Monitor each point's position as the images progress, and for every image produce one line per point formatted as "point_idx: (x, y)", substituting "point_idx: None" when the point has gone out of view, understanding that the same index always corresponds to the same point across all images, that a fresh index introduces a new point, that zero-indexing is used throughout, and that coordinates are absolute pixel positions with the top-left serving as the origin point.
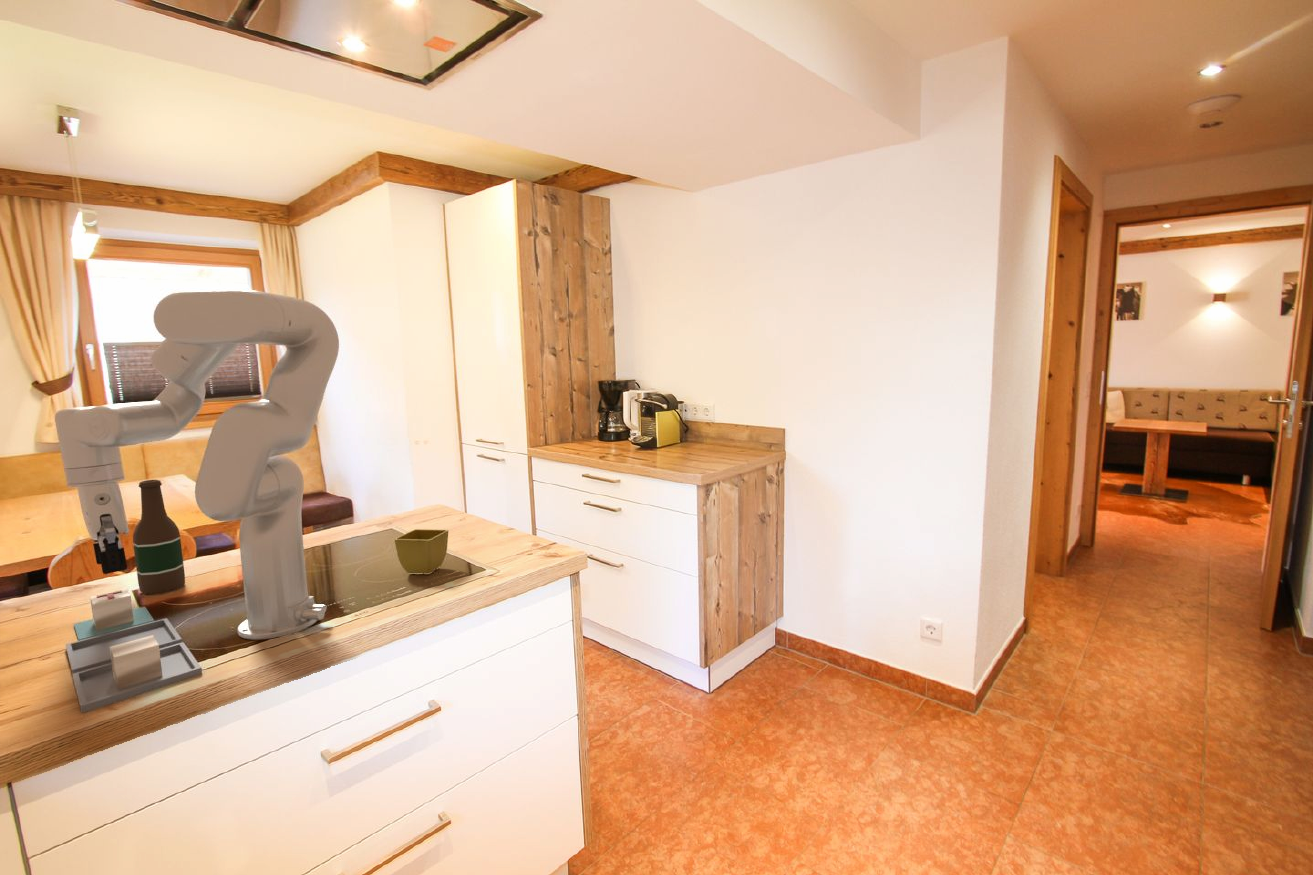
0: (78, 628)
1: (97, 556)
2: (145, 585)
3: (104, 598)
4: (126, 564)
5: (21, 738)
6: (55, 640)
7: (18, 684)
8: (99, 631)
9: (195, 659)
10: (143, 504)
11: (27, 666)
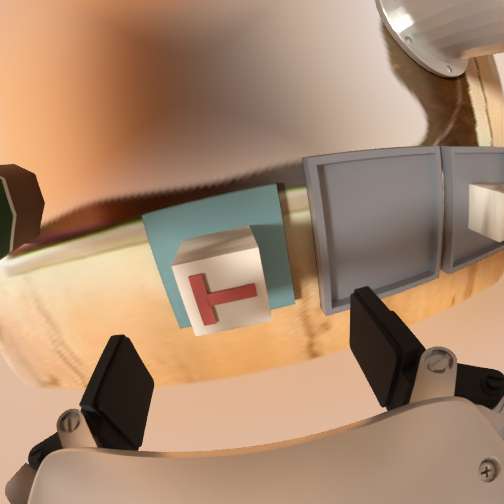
0: None
1: (148, 404)
2: (28, 236)
3: (237, 305)
4: (375, 294)
5: (495, 279)
6: (238, 336)
7: None
8: (272, 279)
9: (495, 147)
10: None
11: (340, 339)
